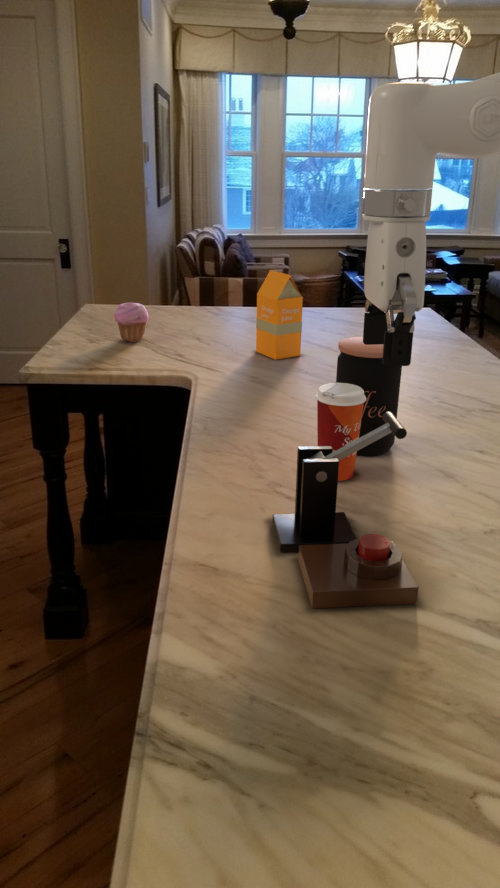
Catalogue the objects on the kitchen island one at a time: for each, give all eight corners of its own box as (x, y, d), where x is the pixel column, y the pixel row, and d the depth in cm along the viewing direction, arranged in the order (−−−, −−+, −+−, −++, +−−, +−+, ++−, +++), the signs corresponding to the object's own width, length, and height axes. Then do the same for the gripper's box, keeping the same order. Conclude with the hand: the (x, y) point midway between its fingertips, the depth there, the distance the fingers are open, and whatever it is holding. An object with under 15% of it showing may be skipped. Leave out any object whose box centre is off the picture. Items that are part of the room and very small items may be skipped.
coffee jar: (320, 447, 121) (326, 345, 114) (349, 429, 129) (356, 333, 122) (377, 462, 115) (387, 356, 108) (403, 442, 124) (414, 342, 117)
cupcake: (109, 339, 187) (107, 301, 184) (136, 334, 193) (135, 297, 189) (128, 346, 181) (126, 307, 178) (155, 340, 187) (154, 303, 183)
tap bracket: (343, 519, 98) (349, 440, 93) (357, 549, 90) (364, 465, 86) (272, 521, 97) (274, 442, 92) (280, 552, 89) (283, 467, 85)
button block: (392, 556, 89) (395, 529, 87) (416, 603, 80) (420, 573, 78) (298, 560, 88) (299, 532, 86) (312, 608, 78) (313, 578, 77)
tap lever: (396, 421, 91) (388, 406, 91) (410, 438, 86) (402, 423, 85) (307, 469, 93) (299, 455, 92) (316, 489, 87) (307, 474, 87)
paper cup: (341, 488, 106) (347, 400, 101) (301, 473, 111) (305, 389, 106) (370, 472, 112) (377, 388, 106) (331, 459, 117) (336, 378, 111)
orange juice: (280, 347, 182) (282, 268, 174) (300, 355, 175) (304, 273, 168) (255, 351, 178) (256, 271, 170) (275, 359, 171) (277, 276, 164)
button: (384, 545, 84) (385, 532, 84) (392, 561, 81) (394, 548, 80) (354, 546, 84) (355, 534, 83) (362, 563, 81) (363, 549, 80)
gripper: (456, 212, 71) (438, 374, 78) (407, 201, 87) (396, 336, 94) (383, 212, 71) (371, 376, 78) (347, 201, 87) (340, 337, 93)
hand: (385, 354), depth 86 cm, fingers open, 9 cm apart
